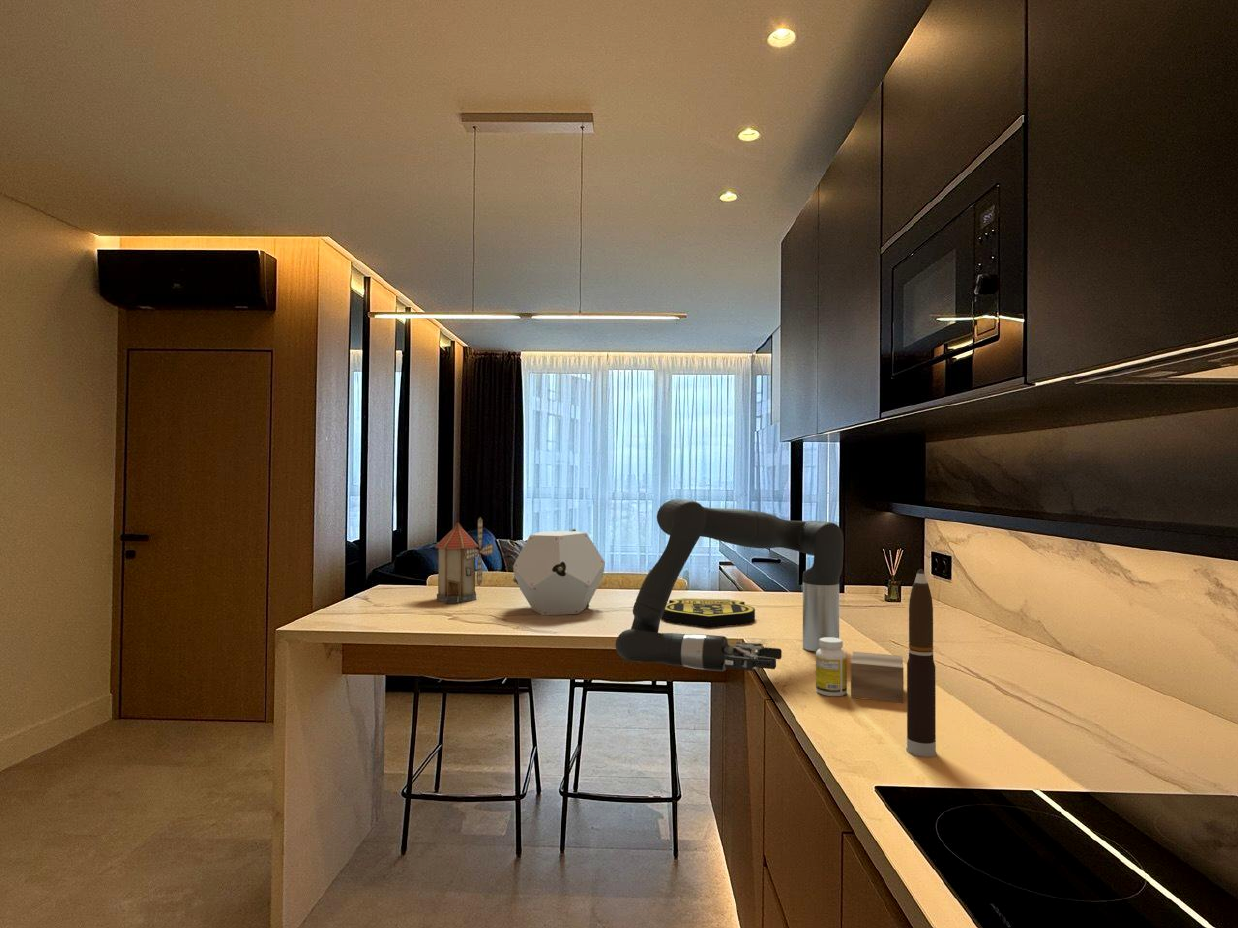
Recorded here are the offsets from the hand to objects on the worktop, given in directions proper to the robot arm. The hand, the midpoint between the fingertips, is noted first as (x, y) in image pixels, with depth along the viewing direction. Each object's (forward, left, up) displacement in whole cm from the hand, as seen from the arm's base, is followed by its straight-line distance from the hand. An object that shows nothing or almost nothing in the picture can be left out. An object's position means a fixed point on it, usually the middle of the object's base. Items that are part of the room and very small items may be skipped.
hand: (778, 658), depth 153 cm
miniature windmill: (-66, -121, -6) cm, 138 cm away
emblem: (-67, -31, -7) cm, 74 cm away
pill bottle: (0, +11, -6) cm, 12 cm away
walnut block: (-3, +20, -6) cm, 21 cm away
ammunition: (+28, +27, -6) cm, 39 cm away
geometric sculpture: (-61, -80, -6) cm, 101 cm away
